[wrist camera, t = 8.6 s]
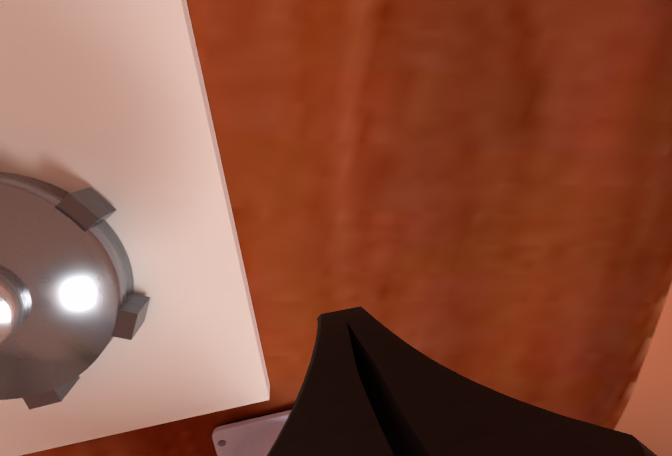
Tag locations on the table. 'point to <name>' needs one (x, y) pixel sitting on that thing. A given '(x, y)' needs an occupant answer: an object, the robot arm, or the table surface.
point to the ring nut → (58, 288)
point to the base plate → (132, 209)
